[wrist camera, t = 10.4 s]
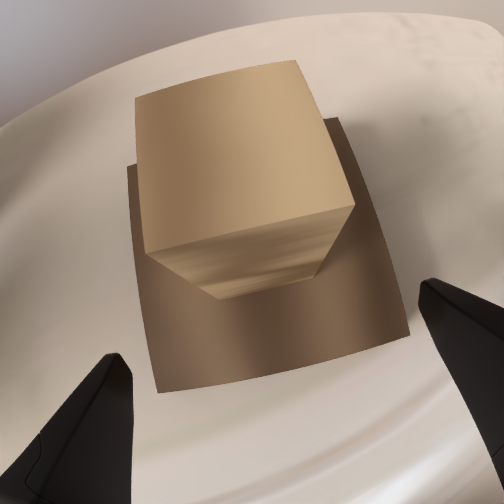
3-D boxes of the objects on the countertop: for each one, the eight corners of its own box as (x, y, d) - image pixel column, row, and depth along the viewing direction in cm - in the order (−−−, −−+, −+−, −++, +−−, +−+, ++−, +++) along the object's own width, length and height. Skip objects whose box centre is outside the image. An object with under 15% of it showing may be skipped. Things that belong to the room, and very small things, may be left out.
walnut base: (331, 141, 22) (337, 117, 19) (392, 335, 19) (410, 335, 16) (143, 185, 22) (127, 166, 20) (174, 385, 19) (157, 393, 16)
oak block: (289, 192, 18) (295, 59, 9) (312, 278, 17) (355, 204, 7) (202, 213, 18) (135, 98, 9) (219, 299, 17) (145, 253, 7)
